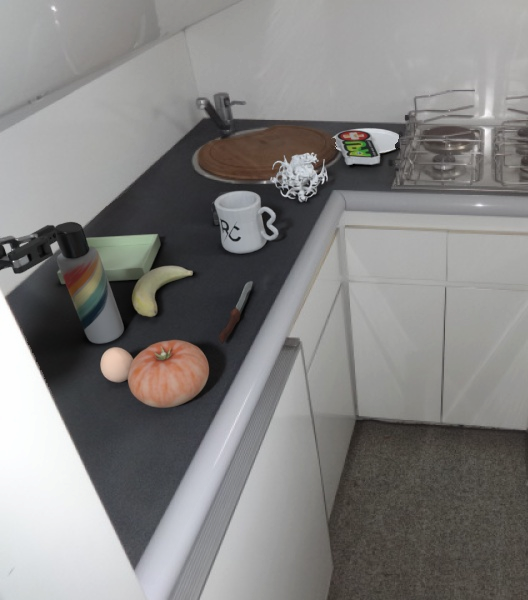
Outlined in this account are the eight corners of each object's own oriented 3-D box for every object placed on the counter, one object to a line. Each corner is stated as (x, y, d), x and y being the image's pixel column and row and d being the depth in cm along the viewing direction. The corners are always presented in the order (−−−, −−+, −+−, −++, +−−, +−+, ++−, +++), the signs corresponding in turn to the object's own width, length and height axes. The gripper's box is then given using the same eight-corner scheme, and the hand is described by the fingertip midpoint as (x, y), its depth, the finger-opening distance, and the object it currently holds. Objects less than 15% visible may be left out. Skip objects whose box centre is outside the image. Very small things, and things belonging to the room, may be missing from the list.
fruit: (117, 318, 100) (112, 302, 98) (159, 271, 112) (155, 256, 110) (157, 322, 99) (152, 306, 97) (195, 274, 111) (191, 259, 109)
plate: (329, 158, 158) (329, 154, 157) (331, 132, 175) (331, 128, 174) (405, 156, 159) (405, 152, 158) (400, 131, 176) (400, 127, 175)
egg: (128, 365, 90) (118, 336, 86) (144, 377, 87) (134, 348, 84) (101, 380, 87) (89, 350, 84) (116, 393, 85) (104, 364, 81)
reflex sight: (236, 203, 136) (231, 183, 133) (233, 222, 128) (227, 201, 125) (219, 205, 136) (214, 185, 133) (214, 224, 127) (209, 203, 124)
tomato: (119, 400, 83) (103, 358, 79) (180, 359, 91) (169, 318, 86) (168, 432, 78) (154, 389, 74) (229, 385, 86) (219, 344, 81)
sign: (382, 157, 150) (343, 159, 148) (382, 163, 151) (343, 166, 149) (368, 129, 167) (334, 131, 166) (368, 135, 169) (334, 137, 167)
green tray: (61, 284, 108) (56, 272, 107) (84, 248, 119) (80, 238, 117) (146, 278, 110) (142, 267, 108) (160, 244, 120) (158, 233, 119)
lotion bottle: (87, 328, 97) (45, 221, 86) (123, 319, 99) (87, 213, 88) (87, 348, 93) (43, 238, 81) (125, 338, 95) (88, 230, 83)
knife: (249, 286, 108) (247, 272, 106) (257, 286, 108) (255, 272, 106) (218, 350, 93) (215, 335, 91) (227, 350, 93) (224, 335, 91)
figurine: (335, 152, 135) (334, 202, 138) (298, 146, 144) (298, 192, 148) (289, 154, 126) (290, 206, 130) (253, 146, 136) (254, 196, 140)
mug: (214, 252, 118) (204, 207, 112) (235, 231, 125) (227, 188, 119) (271, 259, 115) (264, 214, 110) (289, 238, 123) (283, 194, 117)
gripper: (-31, 254, 61) (65, 204, 75) (-151, 252, 62) (-35, 204, 77) (-5, 317, 64) (82, 258, 79) (-120, 313, 66) (-14, 256, 80)
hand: (24, 231), depth 78 cm, fingers open, 8 cm apart
